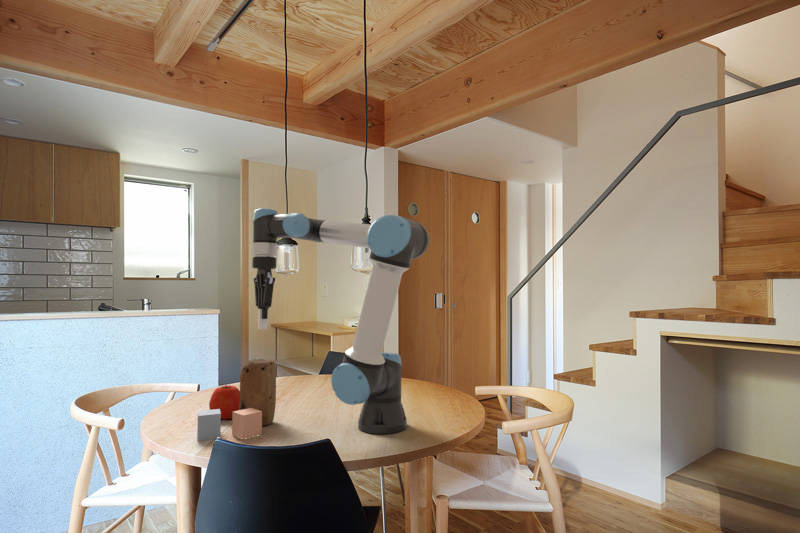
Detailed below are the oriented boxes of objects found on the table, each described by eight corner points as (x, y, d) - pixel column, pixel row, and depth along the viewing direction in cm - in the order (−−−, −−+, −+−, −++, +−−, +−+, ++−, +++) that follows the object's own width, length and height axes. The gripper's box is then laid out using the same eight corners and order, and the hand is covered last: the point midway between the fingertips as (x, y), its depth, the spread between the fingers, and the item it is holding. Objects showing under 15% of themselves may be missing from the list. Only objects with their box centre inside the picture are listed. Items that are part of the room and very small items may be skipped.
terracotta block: (261, 435, 137) (262, 411, 137) (242, 440, 132) (243, 415, 133) (250, 431, 141) (250, 407, 141) (232, 436, 136) (232, 411, 137)
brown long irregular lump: (277, 420, 152) (278, 358, 153) (270, 427, 145) (271, 362, 146) (244, 420, 153) (245, 358, 154) (235, 426, 145) (236, 361, 146)
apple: (209, 414, 160) (209, 383, 160) (242, 411, 163) (243, 380, 164) (208, 423, 150) (208, 389, 150) (243, 419, 153) (244, 386, 154)
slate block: (220, 438, 134) (220, 413, 134) (197, 441, 132) (198, 415, 132) (219, 432, 140) (219, 408, 140) (197, 435, 137) (197, 410, 138)
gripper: (283, 256, 150) (281, 330, 149) (268, 257, 160) (266, 327, 159) (260, 255, 145) (258, 331, 144) (246, 256, 156) (244, 327, 155)
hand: (262, 328), depth 152 cm, fingers closed
